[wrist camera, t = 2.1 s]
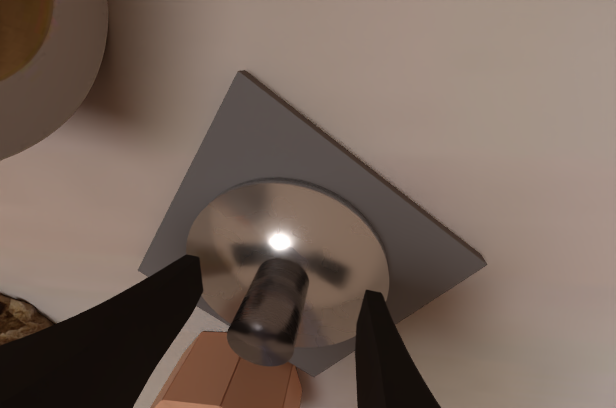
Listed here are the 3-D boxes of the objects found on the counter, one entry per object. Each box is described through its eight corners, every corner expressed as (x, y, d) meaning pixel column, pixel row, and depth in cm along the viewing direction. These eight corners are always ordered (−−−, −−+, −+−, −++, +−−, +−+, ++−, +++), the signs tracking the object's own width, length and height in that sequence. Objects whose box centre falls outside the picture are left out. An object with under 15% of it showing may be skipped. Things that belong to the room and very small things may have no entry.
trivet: (481, 255, 11) (487, 264, 11) (315, 367, 17) (314, 377, 16) (244, 70, 10) (238, 70, 9) (145, 263, 15) (137, 270, 15)
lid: (434, 264, 11) (468, 353, 8) (309, 356, 16) (295, 441, 12) (251, 129, 10) (194, 165, 7) (169, 270, 14) (107, 337, 11)
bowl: (323, 378, 17) (313, 457, 14) (261, 416, 21) (242, 487, 18) (217, 313, 16) (177, 382, 13) (171, 366, 20) (131, 431, 16)
